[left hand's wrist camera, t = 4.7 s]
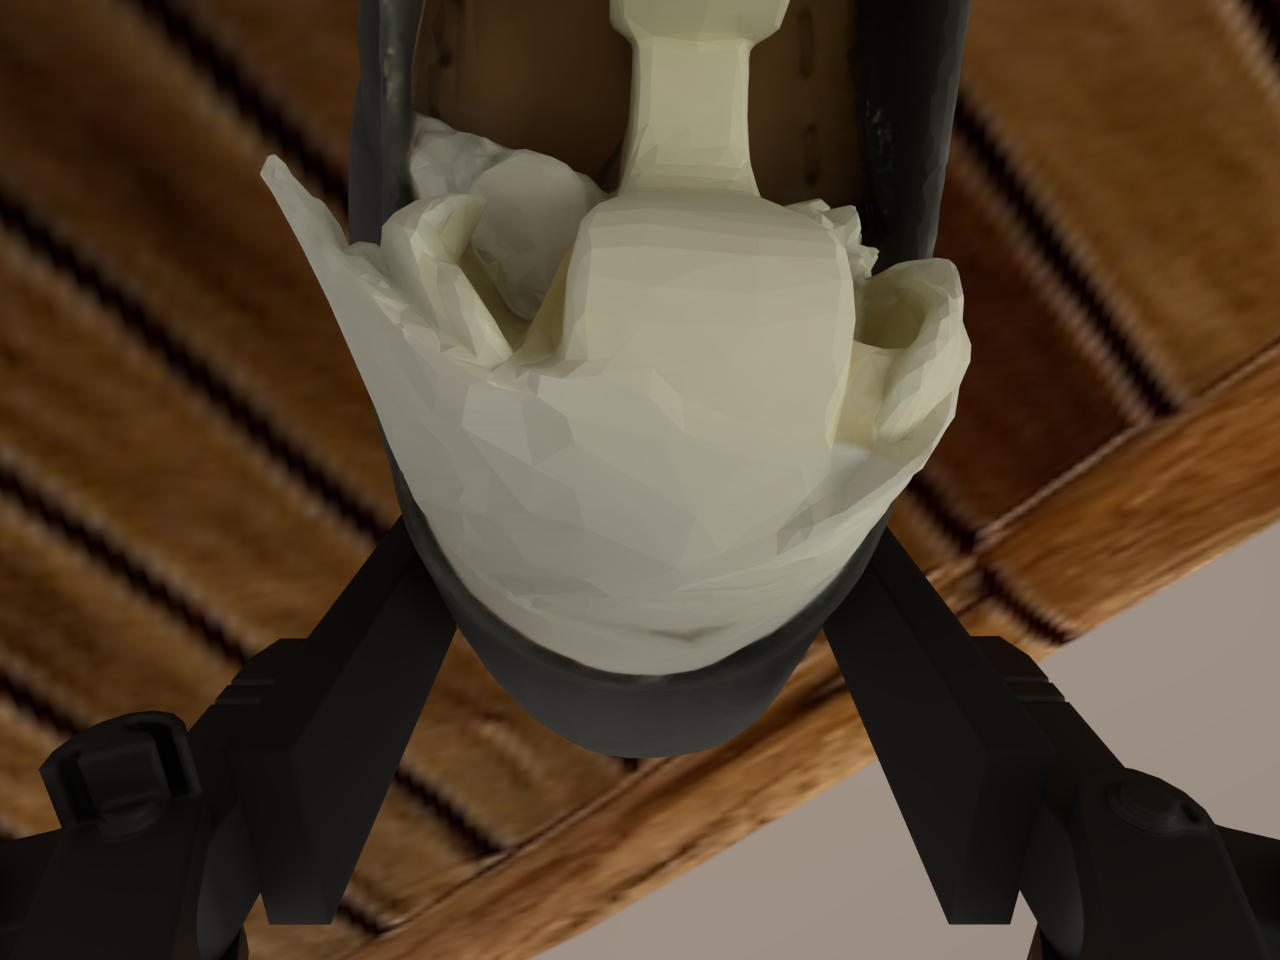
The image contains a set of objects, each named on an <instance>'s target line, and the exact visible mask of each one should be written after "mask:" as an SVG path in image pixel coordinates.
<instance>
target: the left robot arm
mask: <svg viewBox="0 0 1280 960" xmlns="http://www.w3.org/2000/svg"><path fill="white" fill-rule="evenodd" d="M456 629H457V626H456V621H455V620H454V618H453V616H452V614H451V613H450V611H449V609H448V607H447V606H446V604H445V602H444V600H443V599H442V597H441V595H440V593H439V591H438V588H437V586H436V584H435V582H434V580H433V578H432V576H431V575H430V573H429V571H428V570H427V568H426V566H425V564H424V563H423V561H422V559H421V557H420V556H419V554H418V552H417V550H416V548H415V546H414V544H413V542H412V540H411V538H410V535H409V533H408V530H407V527H406V525H405V522H404V518H403V515H402V514H401V516H400V517H399V518H398V520H397V521H396V522H395V524H394V525H393V526H392V528H391V529H390V530H389V532H388V533H387V534H386V535H385V537H384V538H383V539H382V541H381V542H380V543H379V545H378V546H377V547H376V549H375V550H374V551H373V553H372V554H371V555H370V557H369V558H368V559H367V560H366V562H365V563H364V564H363V566H362V567H361V568H360V570H359V571H358V572H357V574H356V575H355V576H354V578H353V579H352V580H351V582H350V583H349V584H348V586H347V587H346V588H345V589H344V591H343V592H342V593H341V595H340V596H339V597H338V599H337V600H336V601H335V603H334V604H333V605H332V607H331V608H330V609H329V611H328V612H327V613H326V614H325V616H324V617H323V618H322V620H321V621H320V622H319V624H318V625H317V626H316V628H315V629H314V630H313V632H312V633H311V634H310V636H309V637H308V638H303V639H279V640H277V641H276V642H274V643H273V644H271V645H270V646H268V647H267V648H265V649H264V650H262V651H261V652H259V653H258V654H256V655H255V656H253V657H252V658H250V660H249V661H248V662H247V663H246V664H245V665H244V667H243V668H242V669H241V670H240V671H239V673H238V674H237V675H236V676H235V677H234V678H233V680H232V683H231V685H227V687H226V688H225V689H224V690H223V691H222V693H221V694H220V695H219V696H218V697H217V698H216V700H215V705H210V707H209V708H208V709H207V710H206V711H205V713H204V714H203V715H202V716H201V717H200V718H199V720H198V721H197V722H196V723H195V724H194V725H193V727H192V728H191V729H190V730H189V731H188V732H187V730H186V726H185V723H184V721H182V720H181V719H180V718H178V717H177V716H176V715H175V714H173V713H167V712H161V711H145V712H137V713H129V714H126V715H122V716H119V717H116V718H113V719H109V720H106V721H103V722H100V723H98V724H96V725H94V726H92V727H90V728H88V729H86V730H84V731H82V732H80V733H78V734H76V735H74V736H73V737H72V738H70V739H69V740H68V741H66V742H65V743H64V744H62V745H61V746H60V747H58V748H57V749H56V750H54V751H53V752H52V753H51V755H50V756H49V757H48V758H47V760H46V761H45V762H44V763H43V765H42V766H41V767H40V768H39V771H40V773H41V776H42V779H43V781H44V784H45V786H46V789H47V791H48V794H49V796H50V799H51V801H52V804H53V806H54V809H55V812H56V814H57V817H58V819H59V822H60V824H61V827H62V828H61V829H58V830H54V831H50V832H46V833H41V834H37V835H33V836H29V837H24V838H20V839H16V840H11V841H7V842H3V843H0V960H248V955H249V950H248V944H247V937H246V933H245V930H244V926H243V923H244V921H245V919H246V917H247V916H248V914H249V912H250V910H251V908H252V907H253V905H254V903H255V901H256V899H257V897H258V896H259V894H260V892H261V895H262V899H263V903H264V907H265V910H266V914H267V918H268V921H269V925H285V924H331V922H332V920H333V917H334V915H335V913H336V910H337V908H338V906H339V903H340V901H341V899H342V896H343V894H344V892H345V889H346V887H347V884H348V882H349V880H350V877H351V875H352V873H353V870H354V868H355V866H356V863H357V861H358V859H359V856H360V854H361V852H362V849H363V847H364V845H365V842H366V840H367V838H368V835H369V833H370V831H371V828H372V826H373V824H374V821H375V819H376V817H377V814H378V812H379V810H380V807H381V805H382V803H383V800H384V798H385V796H386V793H387V791H388V788H389V786H390V784H391V781H392V779H393V777H394V774H395V772H396V770H397V767H398V765H399V763H400V760H401V758H402V756H403V753H404V751H405V749H406V746H407V744H408V742H409V739H410V737H411V735H412V732H413V730H414V728H415V725H416V723H417V721H418V718H419V716H420V714H421V711H422V709H423V707H424V704H425V702H426V700H427V697H428V695H429V693H430V690H431V688H432V685H433V683H434V681H435V678H436V676H437V674H438V671H439V669H440V667H441V664H442V662H443V660H444V657H445V655H446V653H447V650H448V648H449V646H450V643H451V641H452V639H453V636H454V634H455V632H456ZM823 630H824V633H825V635H826V638H827V640H828V642H829V645H830V647H831V649H832V652H833V654H834V656H835V659H836V661H837V663H838V666H839V668H840V670H841V673H842V675H843V677H844V680H845V682H846V684H847V687H848V689H849V691H850V694H851V696H852V698H853V701H854V703H855V705H856V708H857V710H858V712H859V715H860V717H861V719H862V722H863V724H864V726H865V729H866V731H867V734H868V736H869V738H870V741H871V743H872V745H873V748H874V750H875V752H876V755H877V757H878V759H879V762H880V764H881V766H882V769H883V771H884V773H885V776H886V778H887V780H888V783H889V785H890V787H891V790H892V792H893V794H894V797H895V799H896V801H897V804H898V806H899V808H900V811H901V813H902V815H903V818H904V820H905V822H906V825H907V827H908V830H909V832H910V834H911V837H912V839H913V841H914V843H915V846H916V848H917V851H918V853H919V855H920V858H921V860H922V862H923V865H924V867H925V869H926V872H927V874H928V876H929V879H930V881H931V883H932V886H933V888H934V890H935V893H936V895H937V897H938V900H939V902H940V904H941V907H942V909H943V911H944V914H945V916H946V918H947V921H948V923H949V924H1010V923H1011V919H1012V915H1013V912H1014V908H1015V904H1016V901H1017V897H1018V893H1019V890H1020V891H1021V893H1022V895H1023V897H1024V898H1025V900H1026V902H1027V904H1028V906H1029V907H1030V909H1031V911H1032V913H1033V915H1034V916H1035V918H1036V920H1037V922H1038V923H1037V926H1036V930H1035V933H1034V937H1033V940H1032V944H1031V947H1030V951H1029V954H1028V957H1027V960H1280V840H1278V839H1273V838H1269V837H1265V836H1260V835H1256V834H1252V833H1248V832H1243V831H1239V830H1235V829H1230V828H1226V827H1223V826H1219V825H1216V824H1215V823H1214V822H1213V821H1212V819H1211V818H1210V816H1209V815H1208V813H1207V812H1206V810H1205V809H1204V808H1203V807H1201V806H1200V805H1199V804H1198V803H1197V802H1195V801H1194V800H1193V799H1192V798H1191V797H1190V796H1188V795H1187V794H1186V793H1185V792H1183V791H1181V790H1180V789H1178V788H1176V787H1174V786H1173V785H1171V784H1169V783H1167V782H1165V781H1164V780H1162V779H1160V778H1158V777H1155V776H1152V775H1149V774H1146V773H1143V772H1140V771H1138V770H1135V769H1130V768H1125V767H1124V766H1123V765H1122V764H1121V762H1120V761H1119V760H1118V759H1117V758H1116V757H1115V755H1114V754H1113V753H1112V752H1111V751H1110V750H1109V748H1108V747H1107V746H1106V745H1105V744H1104V743H1103V741H1102V740H1101V739H1100V738H1099V737H1098V736H1097V734H1096V733H1095V732H1094V731H1093V730H1092V729H1091V727H1090V726H1089V725H1088V724H1087V723H1086V722H1085V720H1084V719H1083V718H1082V717H1081V716H1080V715H1079V713H1078V712H1077V711H1076V710H1075V709H1074V708H1073V706H1072V705H1071V704H1070V703H1069V702H1065V698H1064V696H1063V695H1062V694H1061V692H1060V691H1059V690H1058V689H1057V688H1056V687H1055V685H1054V684H1053V683H1049V681H1048V677H1047V676H1046V675H1045V674H1044V673H1043V671H1042V670H1041V669H1040V668H1039V667H1038V665H1037V664H1036V663H1035V662H1034V661H1033V660H1032V658H1031V657H1030V656H1029V655H1027V654H1026V653H1024V652H1023V651H1021V650H1020V649H1018V648H1017V647H1015V646H1014V645H1012V644H1010V643H1009V642H1007V641H1006V640H1004V639H1003V638H1001V637H1000V636H970V635H969V634H968V632H967V631H966V630H965V628H964V627H963V626H962V624H961V623H960V622H959V620H958V619H957V618H956V617H955V615H954V614H953V613H952V611H951V610H950V609H949V607H948V606H947V605H946V603H945V602H944V601H943V599H942V598H941V597H940V595H939V594H938V593H937V592H936V590H935V589H934V588H933V586H932V585H931V584H930V582H929V581H928V580H927V578H926V577H925V576H924V574H923V573H922V572H921V570H920V569H919V568H918V566H917V565H916V564H915V563H914V561H913V560H912V559H911V557H910V556H909V555H908V553H907V552H906V551H905V549H904V548H903V547H902V545H901V544H900V543H899V541H898V540H897V539H896V538H895V536H894V535H893V534H892V532H891V531H890V530H889V528H888V527H887V526H886V527H885V529H884V531H883V533H882V536H881V538H880V540H879V542H878V545H877V547H876V549H875V551H874V553H873V555H872V557H871V558H870V560H869V562H868V564H867V566H866V568H865V570H864V572H863V574H862V576H861V577H860V578H859V580H858V581H857V583H856V584H855V585H854V587H853V588H852V590H851V591H850V592H849V594H848V595H847V596H846V597H845V598H844V600H843V601H842V602H841V603H840V604H839V606H838V607H837V608H836V609H835V611H833V612H832V613H831V614H830V616H829V617H828V618H827V620H826V621H825V623H824V625H823Z"/></svg>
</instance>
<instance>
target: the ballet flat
mask: <svg viewBox="0 0 1280 960" xmlns="http://www.w3.org/2000/svg"><path fill="white" fill-rule="evenodd" d="M970 7H971V0H360V2H359V10H358V33H357V39H358V50H359V59H360V68H361V78H360V81H359V85H358V89H357V92H356V96H355V100H354V106H353V114H352V121H351V138H350V153H349V241H350V246H349V245H348V243H347V240H346V238H345V236H344V233H343V231H342V229H341V226H340V225H339V223H338V222H337V220H336V219H335V218H334V216H333V215H332V213H331V212H330V211H329V209H328V208H327V206H326V205H325V204H324V203H323V202H322V201H321V200H320V199H318V198H315V197H312V196H311V195H310V194H309V193H308V191H307V190H306V189H305V188H304V187H303V186H302V185H301V184H300V183H299V182H298V181H297V180H296V179H295V178H294V177H293V176H292V174H291V173H290V171H289V169H288V167H287V166H286V164H285V163H284V162H283V161H282V160H281V159H279V158H278V157H277V156H276V155H275V154H274V155H271V156H268V157H267V160H266V162H265V164H264V166H263V168H262V171H261V173H260V175H261V177H262V178H263V180H264V181H265V182H266V184H267V185H268V187H269V188H270V190H271V191H272V193H273V195H274V197H275V198H276V200H277V202H278V204H279V206H280V207H281V209H282V211H283V213H284V215H285V217H286V218H287V220H288V222H289V224H290V226H291V228H292V229H293V231H294V233H295V235H296V237H297V239H298V240H299V242H300V244H301V246H302V248H303V250H304V252H305V254H306V256H307V258H308V260H309V262H310V264H311V267H312V269H313V271H314V273H315V275H316V277H317V279H318V281H319V283H320V285H321V287H322V289H323V291H324V293H325V295H326V297H327V299H328V301H329V303H330V306H331V308H332V310H333V312H334V315H335V317H336V319H337V322H338V324H339V326H340V328H341V331H342V333H343V335H344V338H345V340H346V342H347V344H348V347H349V349H350V351H351V354H352V356H353V358H354V360H355V363H356V365H357V367H358V369H359V372H360V374H361V376H362V379H363V381H364V383H365V385H366V388H367V390H368V392H369V395H370V397H371V399H372V404H373V408H374V412H375V415H376V419H377V422H378V426H379V429H380V433H381V436H382V440H383V443H384V447H385V450H386V454H387V457H388V461H389V464H390V468H391V471H392V475H393V480H394V485H395V489H396V494H397V499H398V503H399V506H400V509H401V512H402V515H403V518H404V522H405V525H406V527H407V530H408V533H409V535H410V538H411V540H412V542H413V544H414V546H415V548H416V550H417V552H418V554H419V556H420V557H421V559H422V561H423V563H424V564H425V566H426V568H427V570H428V571H429V573H430V575H431V576H432V578H433V580H434V582H435V584H436V586H437V588H438V591H439V593H440V595H441V597H442V599H443V600H444V602H445V604H446V606H447V607H448V609H449V611H450V613H451V614H452V616H453V618H454V620H455V621H456V623H457V625H458V627H459V628H460V630H461V632H462V634H463V635H464V636H465V638H466V639H467V641H468V642H469V644H470V645H471V646H472V648H473V649H474V651H475V652H476V654H477V655H478V657H479V658H480V659H481V661H482V662H483V664H484V665H485V667H486V668H487V669H488V671H489V672H490V673H491V674H492V676H493V677H494V678H495V679H496V681H497V682H498V683H499V684H500V686H501V687H502V688H503V689H504V690H505V691H506V692H507V693H508V694H509V695H510V696H511V697H512V698H513V699H514V700H515V701H516V702H517V703H518V704H519V705H520V706H521V707H522V708H523V709H524V710H525V711H526V712H527V713H528V714H529V715H531V716H532V717H533V718H534V719H536V720H537V721H538V722H540V723H541V724H543V725H544V726H546V727H547V728H549V729H550V730H552V731H554V732H556V733H557V734H559V735H561V736H563V737H565V738H566V739H568V740H569V741H571V742H573V743H575V744H577V745H579V746H581V747H583V748H585V749H587V750H591V751H595V752H599V753H603V754H608V755H614V756H620V757H626V758H658V757H672V756H678V755H685V754H690V753H695V752H699V751H703V750H706V749H710V748H714V747H716V746H719V745H721V744H723V743H725V742H727V741H728V740H730V739H732V738H734V737H735V736H737V735H738V734H740V733H741V732H742V731H744V730H745V729H747V728H748V727H749V726H750V725H752V724H753V723H754V722H755V721H756V720H757V719H758V718H759V717H760V716H761V715H762V714H763V713H764V712H765V711H766V709H767V708H768V707H769V705H770V704H771V703H772V702H773V700H774V699H775V698H776V697H777V695H778V694H779V693H780V691H781V689H782V688H783V686H784V685H785V683H786V682H787V680H788V679H789V677H790V676H791V674H792V673H793V671H794V670H795V668H796V666H797V665H798V663H799V662H800V660H801V659H802V657H803V656H804V654H805V653H806V651H807V650H808V648H809V646H810V645H811V643H812V641H813V640H814V638H815V637H816V636H817V634H818V633H819V631H820V629H821V628H822V626H823V625H824V623H825V621H826V620H827V618H828V617H829V616H830V614H831V613H832V612H833V611H835V609H836V608H837V607H838V606H839V604H840V603H841V602H842V601H843V600H844V598H845V597H846V596H847V595H848V594H849V592H850V591H851V590H852V588H853V587H854V585H855V584H856V583H857V581H858V580H859V578H860V577H861V576H862V574H863V572H864V570H865V568H866V566H867V564H868V562H869V560H870V558H871V557H872V555H873V553H874V551H875V549H876V547H877V545H878V542H879V540H880V538H881V536H882V533H883V531H884V529H885V527H886V524H887V522H888V520H889V517H890V514H891V511H892V508H893V505H894V502H895V499H896V497H897V496H898V495H899V493H900V492H901V491H902V490H903V489H904V488H905V486H906V485H907V484H908V483H909V481H910V480H911V478H912V476H913V475H914V474H915V473H917V472H918V471H919V470H921V469H922V468H923V466H924V465H925V463H926V461H927V460H928V458H929V457H930V455H931V453H932V452H933V450H934V449H935V447H936V445H937V444H938V442H939V440H940V438H941V437H942V435H943V433H944V432H945V430H946V428H947V427H948V425H949V424H950V422H951V421H952V420H953V418H954V417H955V411H956V404H957V398H958V391H959V385H960V383H961V381H962V379H963V376H964V374H965V372H966V369H967V367H968V365H969V362H970V353H971V344H970V341H969V338H968V336H967V333H966V330H965V327H964V325H963V322H962V317H963V301H964V297H963V292H962V287H961V282H960V277H959V273H958V271H957V268H956V266H955V265H954V264H953V263H952V262H951V261H950V260H948V259H940V258H932V255H933V250H934V246H935V241H936V236H937V230H938V219H939V209H940V202H941V197H942V192H943V187H944V181H945V167H946V164H947V161H948V156H949V148H950V140H951V132H952V125H953V118H954V111H955V105H956V99H957V92H958V86H959V79H960V71H961V64H962V57H963V51H964V45H965V40H966V34H967V27H968V21H969V15H970Z"/></svg>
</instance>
